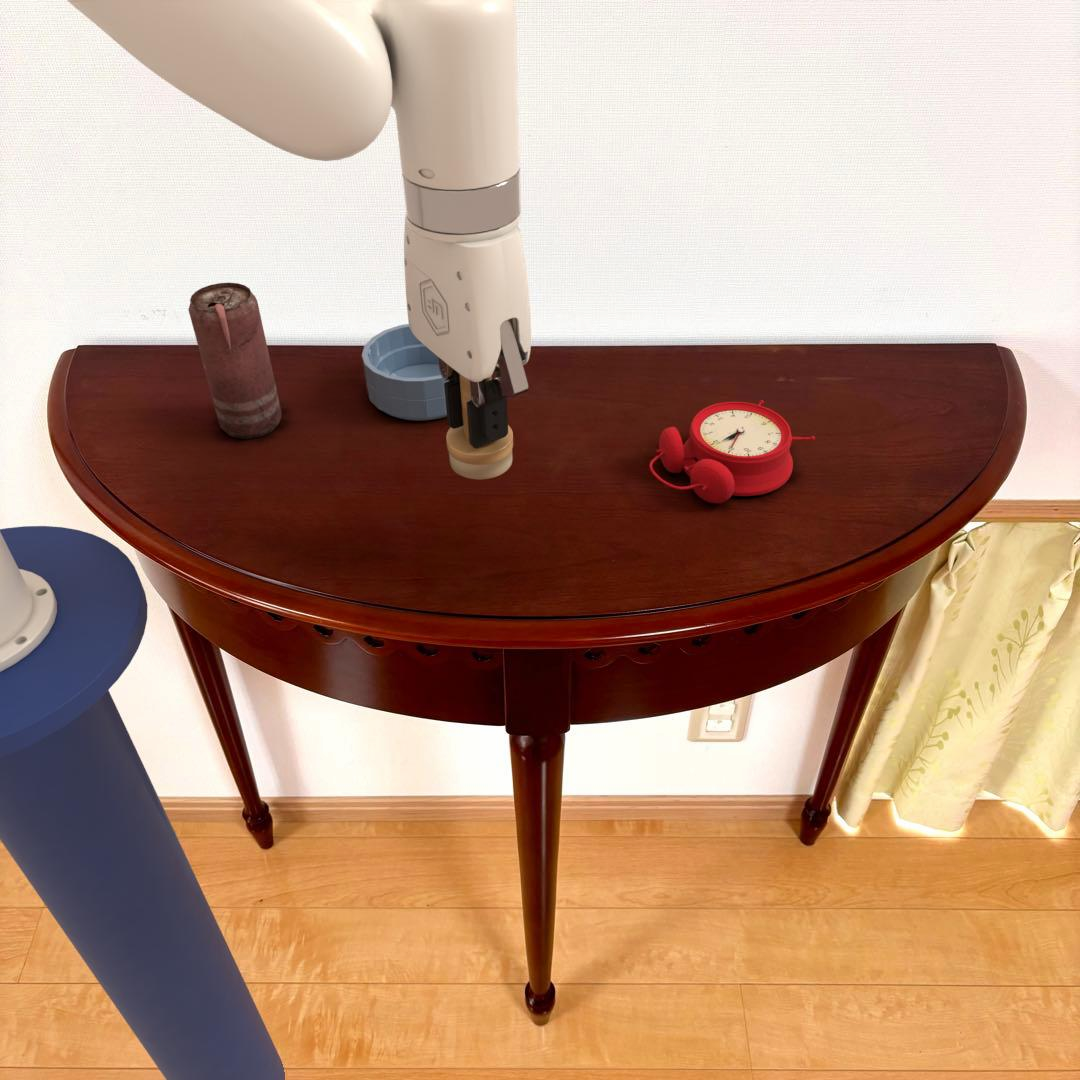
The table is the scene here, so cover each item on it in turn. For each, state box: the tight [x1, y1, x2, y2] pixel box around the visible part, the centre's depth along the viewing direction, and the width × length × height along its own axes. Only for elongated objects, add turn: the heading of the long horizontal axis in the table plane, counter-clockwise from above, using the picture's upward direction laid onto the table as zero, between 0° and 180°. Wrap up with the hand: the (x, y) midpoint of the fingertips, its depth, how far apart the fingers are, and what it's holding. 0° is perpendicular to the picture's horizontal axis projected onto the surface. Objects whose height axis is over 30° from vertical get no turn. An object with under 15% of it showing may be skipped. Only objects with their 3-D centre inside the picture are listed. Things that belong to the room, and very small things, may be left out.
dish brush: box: [445, 374, 514, 480], centre depth 74 cm, size 5×5×8 cm
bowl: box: [361, 323, 449, 422], centre depth 99 cm, size 12×12×5 cm
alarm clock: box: [648, 399, 816, 504], centre depth 88 cm, size 10×6×15 cm
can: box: [187, 282, 283, 440], centre depth 92 cm, size 6×6×14 cm
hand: (477, 429), depth 74 cm, fingers closed on dish brush, 2 cm apart
